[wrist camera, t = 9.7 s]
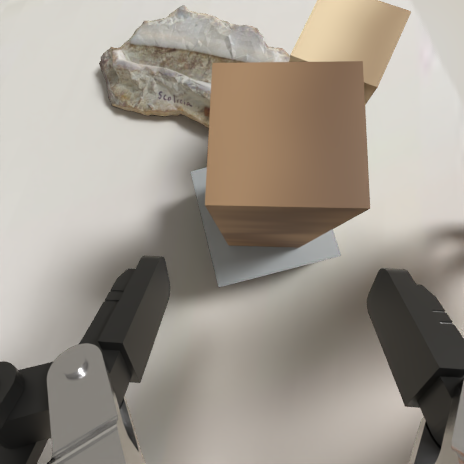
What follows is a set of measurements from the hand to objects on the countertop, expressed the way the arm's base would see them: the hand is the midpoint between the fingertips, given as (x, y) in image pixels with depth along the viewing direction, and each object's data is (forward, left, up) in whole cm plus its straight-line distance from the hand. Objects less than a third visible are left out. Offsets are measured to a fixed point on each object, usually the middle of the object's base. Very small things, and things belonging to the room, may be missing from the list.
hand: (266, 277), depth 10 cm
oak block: (-3, +12, -12) cm, 17 cm away
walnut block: (-2, +4, -7) cm, 8 cm away
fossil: (-13, +11, -12) cm, 21 cm away
